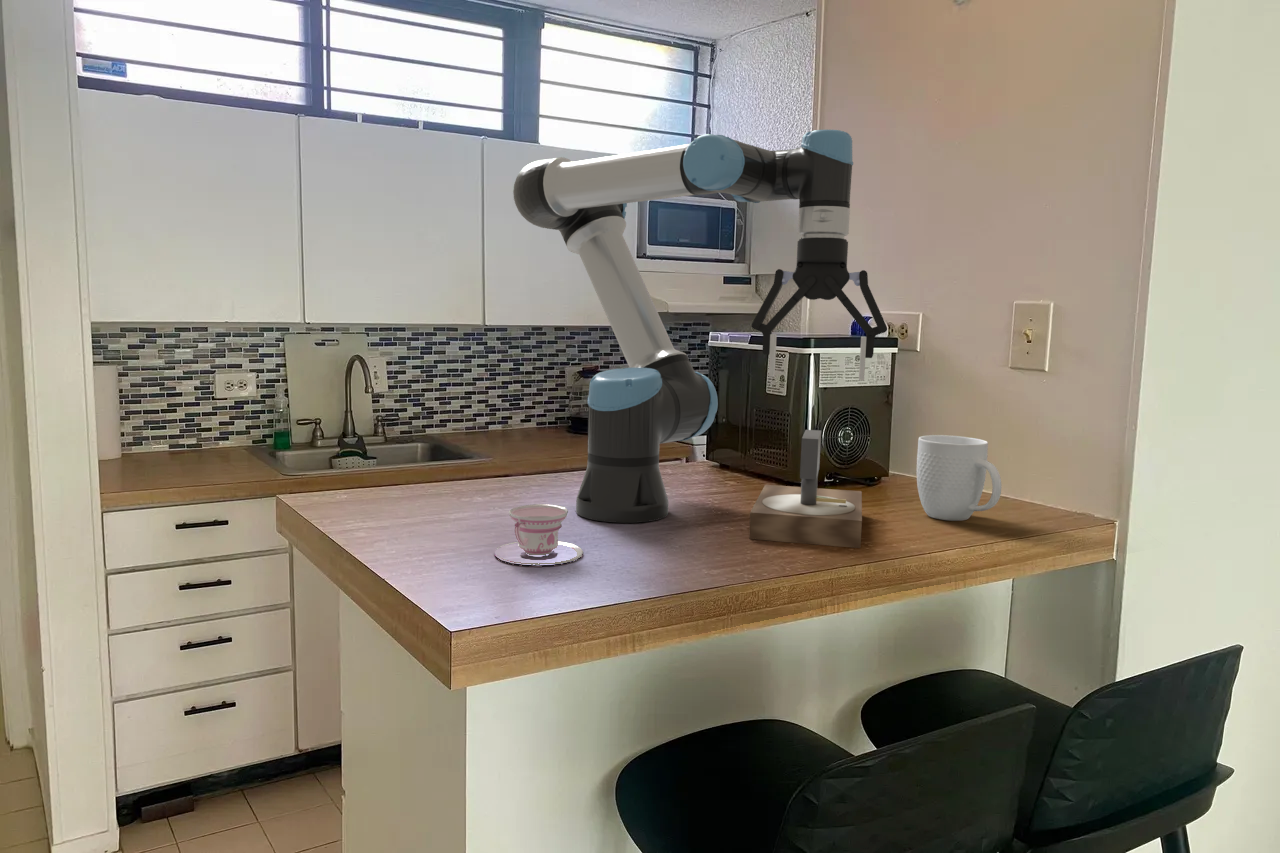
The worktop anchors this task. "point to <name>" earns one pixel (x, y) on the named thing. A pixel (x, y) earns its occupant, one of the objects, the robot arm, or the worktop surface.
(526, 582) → the worktop surface
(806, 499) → the peg knob
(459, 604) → the worktop surface
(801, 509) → the tuner board
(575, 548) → the teacup
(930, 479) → the mug
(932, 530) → the worktop surface
